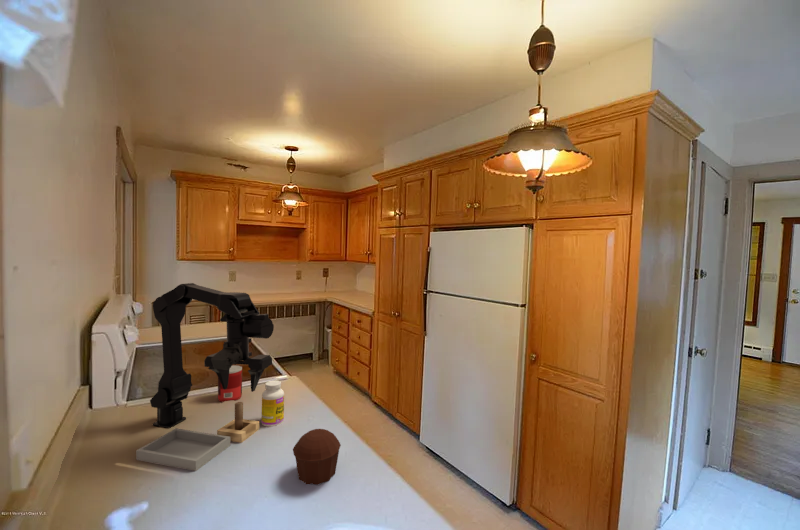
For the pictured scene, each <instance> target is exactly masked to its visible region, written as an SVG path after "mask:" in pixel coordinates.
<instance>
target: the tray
mask: <svg viewBox="0 0 800 530" xmlns="http://www.w3.org/2000/svg"><path fill="white" fill-rule="evenodd" d="M229 447H231V441H230V437H229V436H222V435H217V433H216V434H214V433H208V432H204V431H203V432H202V431H197V430H191V429H190V430H189V429H183V428H179V427H178V428H177V427H175V428H174V429H172V430H170V431H168V432H167V433H165V434H163V435H161V436H160V437H158V438H156V439H154V440H152V441H150V442H149V443H147V444H145V445H143V446H141V447H140V448H138V449H136V451H135V452H136V453H135V456H136V458H135V459H136V461H141V462H146V463H151V464H158V465H162V466H166V467H167V466H168V467H171V468H178V469H184V470H187V471H193V472H197V471H198V470H200V469H201V468H202V467H203V466H205V465H206V464H208V463H209V462H211V461H212V460H213V459H214V458H216V457H218V455H220V454H221V453H222V452H224V451H225V450H226V449H228V448H229Z"/></svg>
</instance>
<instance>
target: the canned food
mask: <svg viewBox="0 0 800 530" xmlns="http://www.w3.org/2000/svg"><path fill="white" fill-rule="evenodd" d="M242 395H243V366H240V365H232V366H231V368H230V370H229V380H228V387H227V389H225V390H224V389H223V387H222V385H221V382H220V380H219V378H218V377H217V398H218V401H219V402H220V403H225V402H229V401H238V400H240V399H241V398H242Z"/></svg>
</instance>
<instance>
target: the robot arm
mask: <svg viewBox="0 0 800 530" xmlns="http://www.w3.org/2000/svg"><path fill="white" fill-rule="evenodd" d="M193 301H198V302H202V303H205V304H209V305H212V306H213V307H216V308H217V309H218V310H219V311H221V312H222V313H224V315H223V316H222V317H221V318H220V319H219V322H226V341H223V345H222V349H221V350H219V351H217V352H216V353H211V354H210V355H207V356H206V357H205V358H204V360H203V361H204V363H203V364H204V367H206V368H207V369H208V370H210V371H212V372H215V374H216V376H217V379H218V378H219V380H220V382H221V385H222V387H223V389H224V390H225V389H227V387H228V380H229V370H230V368H231V366H237V365H247V367H248V368H249V369H248V370H247V372H248V373H249V376H250V391H251V392H255V391H256V389H257V386H258V383H259V381H260V379H261V376H262V375H263V373H264V371H265V370H266V369H267V368H269V366H272V365H273V357H272V356H271V355H270V354H257V355H256V356H253V357H252V355H253V353H252V351H250V348H249V347H250V345H249V343H252V338H253V339H269V338H271V336H272V335H273V333H274V330H275V329H274V328H275V325H274V322H273V320H272V319H271V318H269V317H270V316H269V315H270V314H269V313H264V314H260V312H259V310H258V309H257V307H256V305H255V304H254V302H253V301H252V299H251V297H250V295H249V293H247V292H240V291H239V292H237V291H236V292H235V291H233V292H232V291H230V292H227V291H221V290H217V289H213V288H211V287H206V286H202V285H199V284H196V283H194V282H189V283H181V284H178V285H177V286H175V287H174V288H173V289H171V290H169V291H167V292H166V293H163V294H161V296H158V297H157V298H155V299H154V300H153V302H152V309H153V315H154V318H155V320H157V322H158V323H159V325H160V326H161V340H162V341H161V343H162V358H163V372H162V375H161V377H160V379H159V381H158V387H157V392H156V393H155V394H154V395H153V396H152V398H151V399H150V400H149V402H150V406H151V408H154V409H157V413H156V414H157V415H156V417H157V418H156V421H155V422H153V423H152V426H153V427H154V426H155V427H161V428H173V426H175V425H177V424H179V423H181V422H183V421H185V420H187V417H186V416H184V408H183V400H186V399H188V396H189V392H191V388H192V386H193V383H192V374H191V373H187V371H185V369H184V365H183V363H184V362H183V350H182V349H183V348H182V332H181V329H182V328H181V323H182V321H183V319H184V317H185V315H186V312H187V311H186V309H187V306H188V305H189V304H190V303H191V302H193Z"/></svg>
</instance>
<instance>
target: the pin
mask: <svg viewBox="0 0 800 530" xmlns="http://www.w3.org/2000/svg"><path fill="white" fill-rule="evenodd" d="M234 419H235V430H242V429H243V419H244V402H243V401H237V402H235V403H234Z"/></svg>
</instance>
